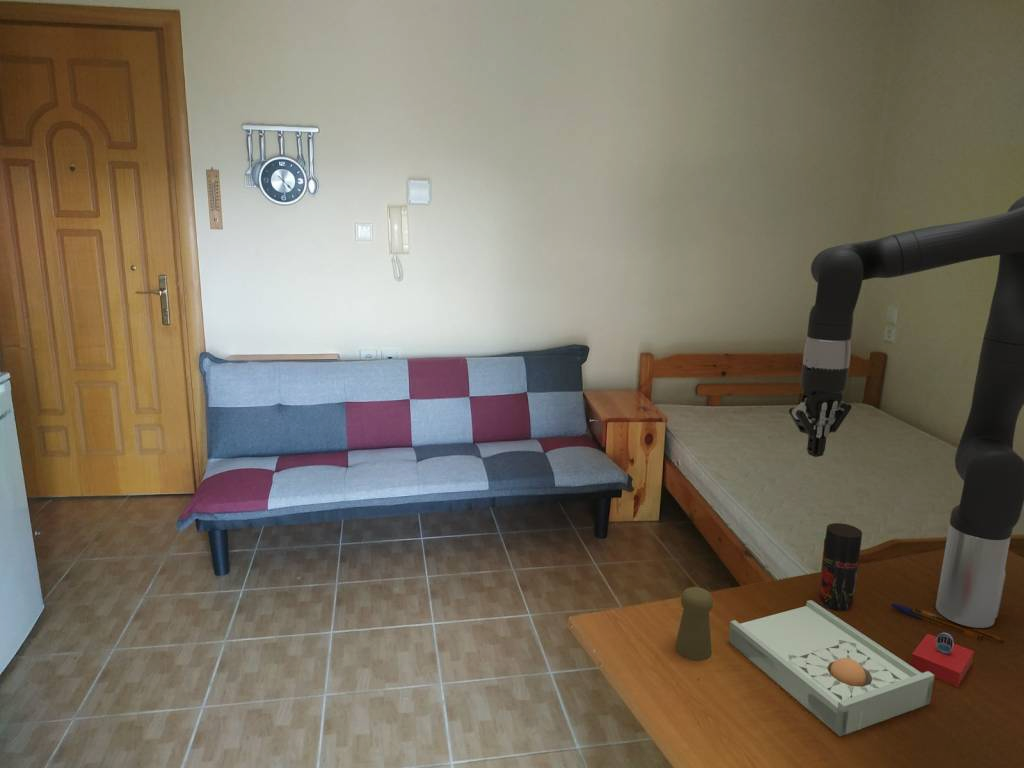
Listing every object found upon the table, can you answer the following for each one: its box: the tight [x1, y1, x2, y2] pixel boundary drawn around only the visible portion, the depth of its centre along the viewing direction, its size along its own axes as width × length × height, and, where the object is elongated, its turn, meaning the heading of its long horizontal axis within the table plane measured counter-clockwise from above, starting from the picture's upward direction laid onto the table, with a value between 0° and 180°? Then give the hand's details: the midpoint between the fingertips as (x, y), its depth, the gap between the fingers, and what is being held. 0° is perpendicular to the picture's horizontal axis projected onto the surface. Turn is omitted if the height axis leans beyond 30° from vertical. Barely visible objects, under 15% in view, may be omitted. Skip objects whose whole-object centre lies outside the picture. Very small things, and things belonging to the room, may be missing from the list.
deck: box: [728, 599, 935, 737], centre depth 112 cm, size 18×24×5 cm
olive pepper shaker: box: [674, 586, 714, 662], centre depth 116 cm, size 6×6×11 cm
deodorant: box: [817, 522, 863, 612], centre depth 130 cm, size 6×6×15 cm
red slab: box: [909, 632, 975, 688], centre depth 113 cm, size 8×7×6 cm
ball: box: [830, 658, 866, 687], centre depth 107 cm, size 5×5×5 cm
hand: (815, 455), depth 127 cm, fingers closed
